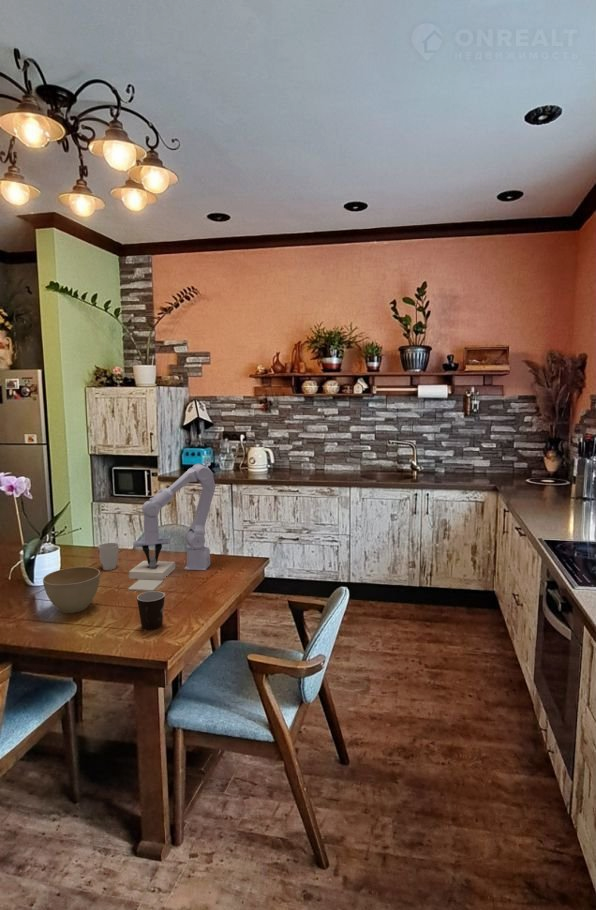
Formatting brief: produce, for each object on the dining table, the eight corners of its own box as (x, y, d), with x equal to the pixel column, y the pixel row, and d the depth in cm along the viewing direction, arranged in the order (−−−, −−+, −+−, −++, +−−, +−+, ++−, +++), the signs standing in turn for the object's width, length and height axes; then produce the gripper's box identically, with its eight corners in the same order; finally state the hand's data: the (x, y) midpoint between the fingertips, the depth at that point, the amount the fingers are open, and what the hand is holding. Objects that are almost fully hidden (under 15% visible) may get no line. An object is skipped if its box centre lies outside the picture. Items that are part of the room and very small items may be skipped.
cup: (106, 564, 234) (105, 542, 233) (123, 565, 232) (122, 543, 231) (95, 570, 226) (94, 547, 225) (112, 572, 224) (111, 548, 223)
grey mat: (163, 582, 212) (163, 580, 212) (153, 591, 203) (153, 589, 203) (139, 580, 214) (139, 579, 214) (127, 590, 204) (127, 588, 204)
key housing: (175, 568, 228) (175, 561, 228) (162, 580, 215) (162, 572, 214) (143, 567, 230) (143, 560, 230) (129, 578, 216) (129, 571, 216)
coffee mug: (149, 618, 179) (148, 589, 177) (171, 622, 175) (170, 593, 174) (125, 633, 168) (124, 602, 167) (148, 638, 165) (147, 606, 164)
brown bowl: (76, 595, 199) (75, 563, 197) (112, 604, 190) (111, 571, 189) (33, 613, 183) (31, 579, 181) (69, 624, 175) (67, 588, 173)
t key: (157, 575, 219) (156, 559, 218) (149, 576, 218) (149, 560, 217) (155, 569, 227) (155, 554, 226) (148, 570, 226) (147, 555, 225)
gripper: (168, 526, 226) (169, 557, 228) (132, 529, 221) (133, 561, 223) (170, 530, 220) (171, 562, 221) (133, 533, 215) (134, 566, 217)
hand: (152, 562), depth 222 cm, fingers closed on t key, 2 cm apart
